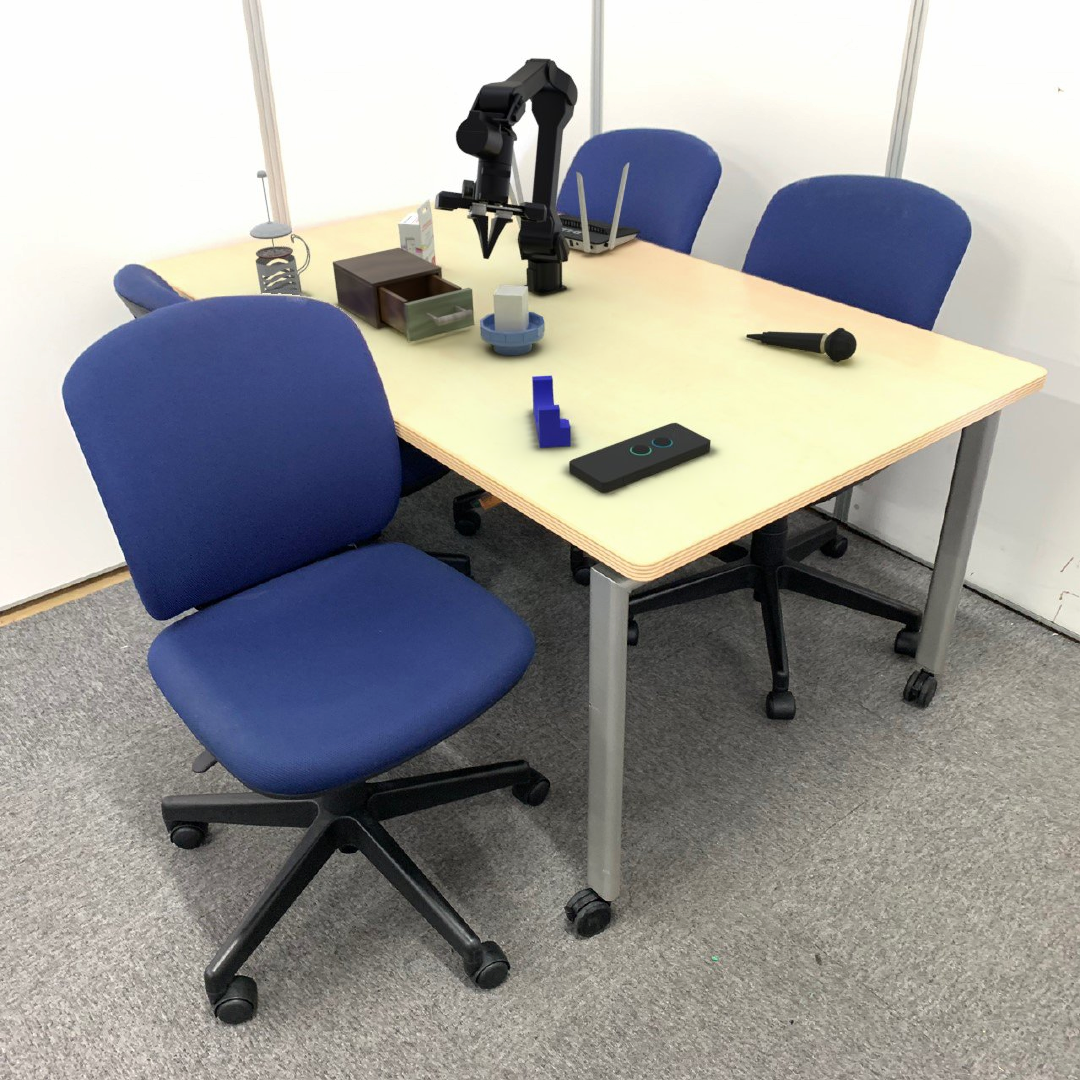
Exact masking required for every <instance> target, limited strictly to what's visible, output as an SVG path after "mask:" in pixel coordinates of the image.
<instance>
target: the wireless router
mask: <svg viewBox="0 0 1080 1080" xmlns="http://www.w3.org/2000/svg"><path fill="white" fill-rule="evenodd" d="M629 168H630V162H627V163H625V165H624V166H623V169H622V173H621V179H620V184H619V189H618V194H617V198H616V199H617V200H616V203H615V204H616V205H615V209H614V215H613V219H612V223H611V222H610V223H609V222H605V221H600V220H595V219H591V218H588V213H587V206H586V197H585V196H586V195H585V189H584V188H585V187H584V180H583V179H584V178H583V176H582V174H581V173H580V172H579V171H576V180H577V181H576V182H577V192H578V201H579V212H580V216H576V215H571V214H563V213H561V214H558V215H559V218H560V220H561V222H562V233H563V235H564V237H565V239H566V241H567V243H568V245H569V249H575V250H578V251H583V252H584V253H586V254H589V253H592V254H600V253H603V252H604V251H607V250H613V249H614V248H615V247H617V246H619V245H621V244H625V243H627V242H630V241H632V240H634V239H635V238H636V236H637V235H638V234H641V233H642V231H641V229H638V228H634V227H629V226H624V225H621V224H620V225H619V221H620V215H621V210H622V205H623V199H624V195H625V189H626V183H627V178H628V173H629ZM511 170H512V175H513V180H514V185H515V186H514V187H515V191H514V190H513V187H512V184H511V182H510V187H509V201H510V204H513V205H520V203H523V202H525V200H524V196H523V195H524V194H523V189H522V185H521V180H520V174H519V169H518V164H517V157H516V153H515V149H514V147H513V156H512V167H511ZM515 192H516V195H515ZM516 197H517V198H516ZM515 218H516V222H517V225H518V228H519V229H520V227H521V218H520V217H519V216H515Z"/></svg>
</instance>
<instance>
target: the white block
mask: <svg viewBox="0 0 1080 1080" xmlns="http://www.w3.org/2000/svg"><path fill="white" fill-rule="evenodd" d="M529 312H530V310H529V290H528V286H524V285H506V284H499V286H498V287H497V289H496V290H495V292H494V293H493V313H494V317H495V331H499V332H506V333H508V332H523V331H526V330H527V328H528V327H529Z"/></svg>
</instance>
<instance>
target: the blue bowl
mask: <svg viewBox="0 0 1080 1080" xmlns="http://www.w3.org/2000/svg"><path fill="white" fill-rule="evenodd" d="M545 324H546V322H545V318H544V316H542V315H540V314H537V313H536V312H534V311H529V327H528V328H527V330H526V331H523V332H508V333H506V332H499V331H495V317H494V312H493V313H489V314H486V315H485V316H484V317H482V318H480V320H479V331H480V338H481V340H482V341H484V342H485V343H487V344H490V345H493V351H494V352H495V353H497V354H500V355H504V356H520V355H524V354H527V353H529V352H530V351H532V349H533V344H534V343H537V342H539V341H540V340H542V339H543V338H544V337H545V331H546V325H545Z"/></svg>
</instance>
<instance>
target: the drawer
mask: <svg viewBox="0 0 1080 1080" xmlns="http://www.w3.org/2000/svg"><path fill="white" fill-rule="evenodd" d="M376 288H377V297H378V306H379V315H380V319H381V320H382V321H384V322H386V323H387V324H389V326H391V327H393V328H395V329H396V330H397V331H399V332H401V333H403V334H405V335H406V337H407V341H408V342H410V343H412V342H416V341H420V340H424V339H428V338H431V337H435V336H438V335H442V334H446V333H449V332H453V331H457V330H461V329H465V328H468V327H473V326H475V314H474V313H475V312H474V298H473V295H474V293H473V289H472V288H471V287H466V288H462V287H461V286H459V285H457V284H456V283H453V282H451V281H449V280H447V279H445V278H443V277H442V278H441V277H439V276H437V275H435V274H430V275H425V276H421V277H417V278H412V279H408V280H404V281H400V282H395V283H391V284H387V285H382V286H378V287H376Z"/></svg>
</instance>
